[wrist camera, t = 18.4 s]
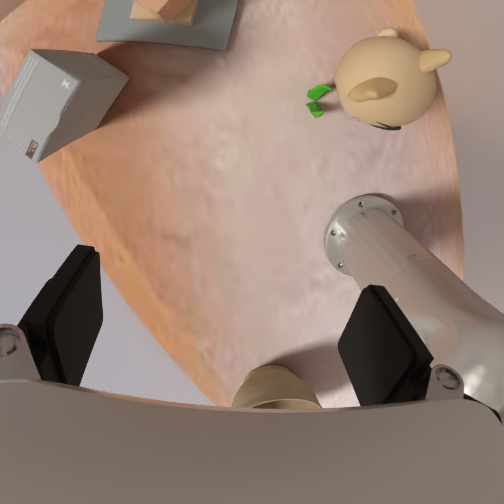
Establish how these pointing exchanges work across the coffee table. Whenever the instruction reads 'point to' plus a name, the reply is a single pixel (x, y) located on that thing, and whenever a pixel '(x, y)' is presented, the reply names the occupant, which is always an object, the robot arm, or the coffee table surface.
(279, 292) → the coffee table surface
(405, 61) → the kitten
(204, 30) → the post board
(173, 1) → the peach cardboard cube
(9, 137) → the skincare box
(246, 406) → the planter bowl
